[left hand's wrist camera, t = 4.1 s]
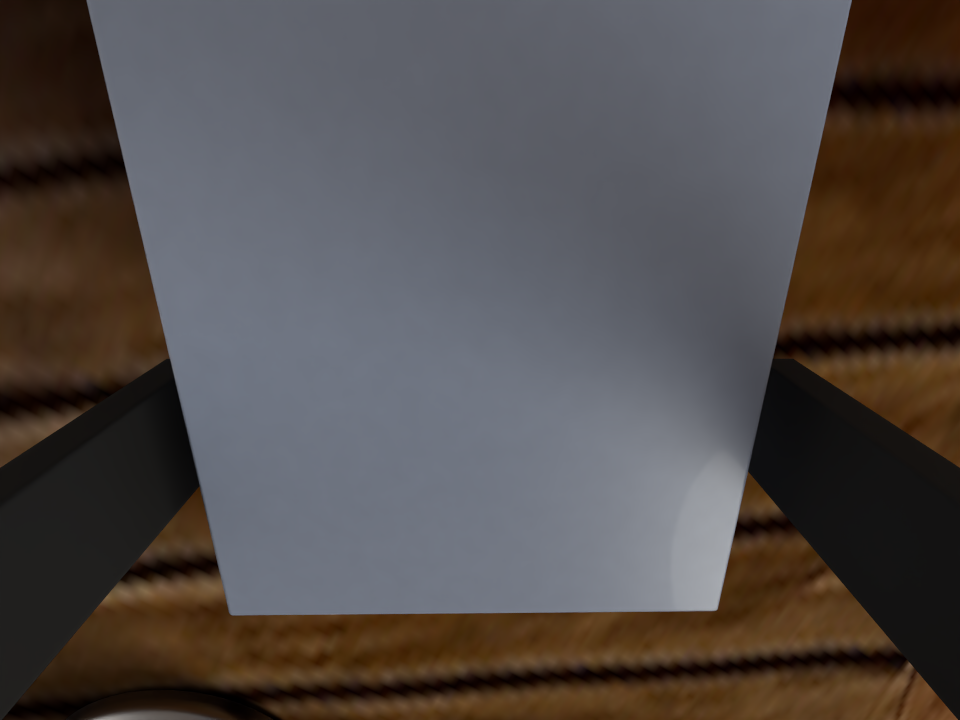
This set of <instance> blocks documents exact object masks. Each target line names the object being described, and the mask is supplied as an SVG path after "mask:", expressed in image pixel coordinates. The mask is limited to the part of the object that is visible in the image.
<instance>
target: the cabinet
mask: <svg viewBox="0 0 960 720" xmlns="http://www.w3.org/2000/svg"><path fill="white" fill-rule="evenodd" d="M851 1H852V0H87V5H88V9H89V13H90V18H91V22H92V26H93V30H94V35H95V39H96V43H97V48H98V52H99V56H100V60H101V65H102V69H103V73H104V78H105V82H106V86H107V90H108V95H109V99H110V103H111V108H112V112H113V116H114V120H115V125H116V129H117V133H118V138H119V142H120V146H121V150H122V155H123V159H124V163H125V168H126V172H127V176H128V180H129V185H130V189H131V193H132V198H133V202H134V206H135V210H136V215H137V219H138V223H139V228H140V232H141V236H142V240H143V245H144V249H145V253H146V258H147V262H148V266H149V270H150V275H151V279H152V283H153V288H154V292H155V296H156V300H157V305H158V309H159V313H160V318H161V322H162V326H163V330H164V335H165V339H166V343H167V348H168V352H169V356H170V360H171V365H172V369H173V373H174V378H175V382H176V386H177V390H178V395H179V399H180V403H181V408H182V412H183V416H184V420H185V425H186V429H187V433H188V438H189V442H190V446H191V450H192V455H193V459H194V463H195V468H196V472H197V476H198V480H199V485H200V489H201V493H202V498H203V502H204V506H205V510H206V515H207V519H208V523H209V528H210V532H211V536H212V540H213V545H214V549H215V553H216V558H217V562H218V566H219V570H220V575H221V579H222V583H223V588H224V592H225V596H226V600H227V605H228V609H229V613H230V614H231V615H308V614H420V613H533V612H645V611H716V610H717V609H718V605H719V600H720V595H721V591H722V586H723V582H724V577H725V573H726V568H727V564H728V559H729V555H730V550H731V546H732V541H733V536H734V532H735V527H736V523H737V518H738V514H739V509H740V505H741V500H742V496H743V491H744V487H745V482H746V477H747V473H748V468H749V464H750V459H751V455H752V450H753V446H754V441H755V437H756V432H757V427H758V423H759V418H760V414H761V409H762V405H763V400H764V396H765V391H766V387H767V382H768V378H769V373H770V368H771V364H772V359H773V355H774V350H775V346H776V341H777V337H778V332H779V328H780V323H781V319H782V314H783V309H784V305H785V300H786V296H787V291H788V287H789V282H790V278H791V273H792V269H793V264H794V260H795V255H796V250H797V246H798V241H799V237H800V232H801V228H802V223H803V219H804V214H805V210H806V205H807V200H808V196H809V191H810V187H811V182H812V178H813V173H814V169H815V164H816V160H817V155H818V151H819V146H820V141H821V137H822V132H823V128H824V123H825V119H826V114H827V110H828V105H829V101H830V96H831V92H832V87H833V82H834V78H835V73H836V69H837V64H838V60H839V55H840V51H841V46H842V42H843V37H844V33H845V28H846V23H847V19H848V14H849V10H850V5H851Z"/></svg>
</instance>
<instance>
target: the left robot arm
mask: <svg viewBox="0 0 960 720" xmlns="http://www.w3.org/2000/svg"><path fill="white" fill-rule="evenodd" d="M748 472H749V473H750V474H751V475H752V476H753V478H754V479H755V480H756V481H757V482H758V484H759V485H760V486H761V487H762V488H763V489H764V491H765V492H766V493H767V494H768V495H769V497H770V498H771V499H772V500H773V501H774V502H775V504H776V505H777V506H778V507H779V508H780V510H781V511H782V512H783V513H784V514H785V515H786V517H787V518H788V519H789V520H790V521H791V523H792V524H793V525H794V526H795V527H796V528H797V530H798V531H799V532H800V533H801V534H802V536H803V537H804V538H805V539H806V540H807V541H808V543H809V544H810V545H811V546H812V547H813V549H814V550H815V551H816V552H817V553H818V554H819V556H820V557H821V558H822V559H823V560H824V562H825V563H826V564H827V565H828V566H829V568H830V569H831V570H832V571H833V572H834V573H835V575H836V576H837V577H838V578H839V579H840V581H841V582H842V583H843V584H844V585H845V586H846V588H847V589H848V590H849V591H850V592H851V594H852V595H853V596H854V597H855V598H856V599H857V601H858V602H859V603H860V604H861V605H862V607H863V608H864V609H865V610H866V611H867V612H868V614H869V615H870V616H871V617H872V618H873V620H874V621H875V622H876V623H877V624H878V625H879V627H880V628H881V629H882V630H883V631H884V633H885V634H886V635H887V636H888V637H889V638H890V640H891V641H892V642H893V643H894V644H895V646H896V647H897V648H898V649H899V650H900V651H901V653H902V654H903V655H904V656H905V657H906V659H907V660H908V661H909V662H910V663H911V664H912V666H913V667H914V668H915V669H916V670H917V672H918V673H919V674H920V675H921V676H922V678H923V679H924V680H925V681H926V682H927V683H928V685H929V686H930V687H931V688H932V689H933V691H934V692H935V693H936V694H937V695H938V696H939V698H940V699H941V700H942V701H943V702H944V704H945V705H946V706H947V707H948V708H949V709H950V711H951V712H952V713H953V714H954V715H955V717H956V718H957V719H958V720H960V468H959V467H958V466H956V465H955V464H953V463H951V462H950V461H948V460H947V459H945V458H944V457H942V456H941V455H939V454H938V453H936V452H935V451H933V450H932V449H930V448H929V447H927V446H925V445H924V444H922V443H921V442H919V441H918V440H916V439H915V438H913V437H912V436H910V435H909V434H907V433H906V432H904V431H903V430H901V429H899V428H898V427H896V426H895V425H893V424H892V423H890V422H889V421H887V420H886V419H884V418H883V417H881V416H880V415H878V414H877V413H875V412H873V411H872V410H870V409H869V408H867V407H866V406H864V405H863V404H861V403H860V402H858V401H857V400H855V399H854V398H852V397H851V396H849V395H848V394H846V393H844V392H843V391H841V390H840V389H838V388H837V387H835V386H834V385H832V384H831V383H829V382H828V381H826V380H825V379H823V378H822V377H820V376H818V375H817V374H815V373H814V372H812V371H811V370H809V369H808V368H806V367H805V366H803V365H802V364H800V363H799V362H797V361H796V360H794V359H772V364H771V368H770V373H769V378H768V382H767V387H766V391H765V396H764V400H763V405H762V409H761V414H760V418H759V423H758V427H757V432H756V437H755V441H754V446H753V450H752V455H751V459H750V464H749V468H748ZM199 486H200V485H199V480H198V476H197V472H196V468H195V463H194V459H193V455H192V450H191V446H190V442H189V438H188V433H187V429H186V425H185V420H184V416H183V412H182V408H181V403H180V399H179V395H178V390H177V386H176V382H175V378H174V373H173V369H172V365H171V360H170V359H166V360H164V361H163V362H161V363H160V364H158V365H157V366H155V367H154V368H152V369H151V370H149V371H148V372H146V373H145V374H143V375H142V376H140V377H138V378H137V379H135V380H134V381H132V382H131V383H129V384H128V385H126V386H125V387H123V388H122V389H120V390H119V391H117V392H116V393H114V394H112V395H111V396H109V397H108V398H106V399H105V400H103V401H102V402H100V403H99V404H97V405H96V406H94V407H93V408H91V409H90V410H88V411H87V412H85V413H83V414H82V415H80V416H79V417H77V418H76V419H74V420H73V421H71V422H70V423H68V424H67V425H65V426H64V427H62V428H61V429H59V430H57V431H56V432H54V433H53V434H51V435H50V436H48V437H47V438H45V439H44V440H42V441H41V442H39V443H38V444H36V445H35V446H33V447H31V448H30V449H28V450H27V451H25V452H24V453H22V454H21V455H19V456H18V457H16V458H15V459H13V460H12V461H10V462H9V463H7V464H5V465H4V466H2V467H1V468H0V720H2V719H3V718H4V717H5V715H6V714H7V713H8V712H9V711H10V709H11V708H12V707H13V706H14V705H15V704H16V702H17V701H18V700H19V699H20V698H21V696H22V695H23V694H24V693H25V692H26V691H27V689H28V688H29V687H30V686H31V685H32V683H33V682H34V681H35V680H36V679H37V678H38V676H39V675H40V674H41V673H42V672H43V670H44V669H45V668H46V667H47V666H48V664H49V663H50V662H51V661H52V660H53V659H54V657H55V656H56V655H57V654H58V653H59V651H60V650H61V649H62V648H63V647H64V646H65V644H66V643H67V642H68V641H69V640H70V638H71V637H72V636H73V635H74V634H75V633H76V631H77V630H78V629H79V628H80V627H81V625H82V624H83V623H84V622H85V621H86V620H87V618H88V617H89V616H90V615H91V614H92V612H93V611H94V610H95V609H96V608H97V607H98V605H99V604H100V603H101V602H102V601H103V599H104V598H105V597H106V596H107V595H108V594H109V592H110V591H111V590H112V589H113V588H114V586H115V585H116V584H117V583H118V582H119V581H120V579H121V578H122V577H123V576H124V575H125V573H126V572H127V571H128V570H129V569H130V568H131V566H132V565H133V564H134V563H135V562H136V560H137V559H138V558H139V557H140V556H141V554H142V553H143V552H144V551H145V550H146V549H147V547H148V546H149V545H150V544H151V543H152V541H153V540H154V539H155V538H156V537H157V536H158V534H159V533H160V532H161V531H162V530H163V528H164V527H165V526H166V525H167V524H168V523H169V521H170V520H171V519H172V518H173V517H174V515H175V514H176V513H177V512H178V511H179V510H180V508H181V507H182V506H183V505H184V504H185V502H186V501H187V500H188V499H189V498H190V497H191V495H192V494H193V493H194V492H195V491H196V489H197V488H198V487H199ZM66 720H273V719H272V718H270V717H268V716H266V715H264V714H263V713H261V712H258V711H256V710H254V709H252V708H250V707H247V706H245V705H242V704H239V703H236V702H233V701H230V700H227V699H223V698H220V697H216V696H211V695H207V694H201V693H195V692H188V691H177V690H146V691H135V692H128V693H123V694H118V695H114V696H110V697H107V698H104V699H100V700H98V701H95V702H93V703H91V704H88V705H86V706H84V707H83V708H81V709H79V710H77V711H76V712H74V713H73V714H72V715H70V716H69V717H68V718H67V719H66Z"/></svg>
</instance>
